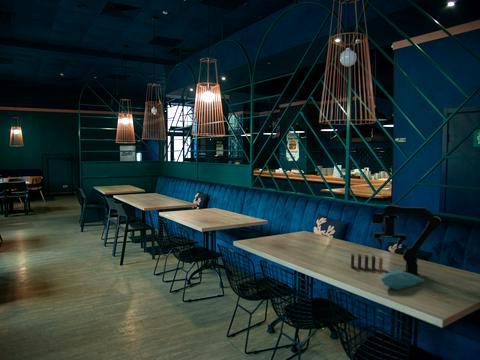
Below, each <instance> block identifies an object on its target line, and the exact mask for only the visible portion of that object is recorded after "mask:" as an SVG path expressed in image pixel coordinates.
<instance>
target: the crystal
mask: <svg viewBox="0 0 480 360" xmlns="http://www.w3.org/2000/svg"><path fill="white" fill-rule="evenodd" d="M380 281H381V282H382V283H383V285H384V286H386V287H389V288H391V289H393V290H396V291H397V290H401V289H405V288H411V287H414V286H416V285H418V284H420V283H423V282H424V281H425V279H424V278H421V277H420V276H418V275H413V274H410V273H406V272H404V271H401V270H397V269H393V270H392V271H390V272H388V273H384V274H383V275H382V277H381V279H380Z"/></svg>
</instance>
